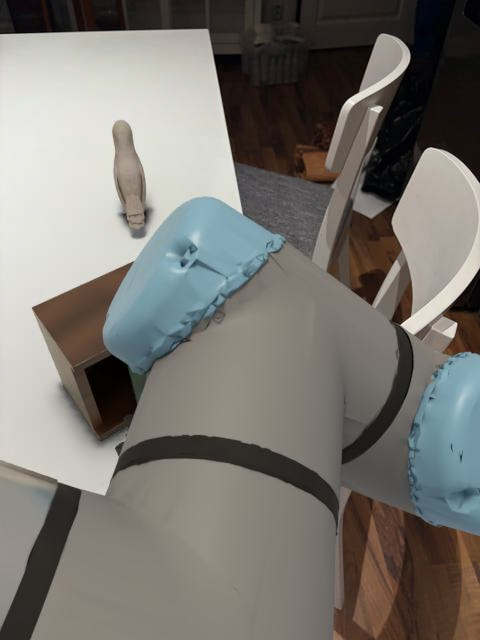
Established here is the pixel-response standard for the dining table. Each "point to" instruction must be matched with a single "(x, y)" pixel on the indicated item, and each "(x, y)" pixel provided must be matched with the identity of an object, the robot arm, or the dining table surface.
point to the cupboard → (89, 352)
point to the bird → (129, 175)
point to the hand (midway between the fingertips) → (191, 392)
